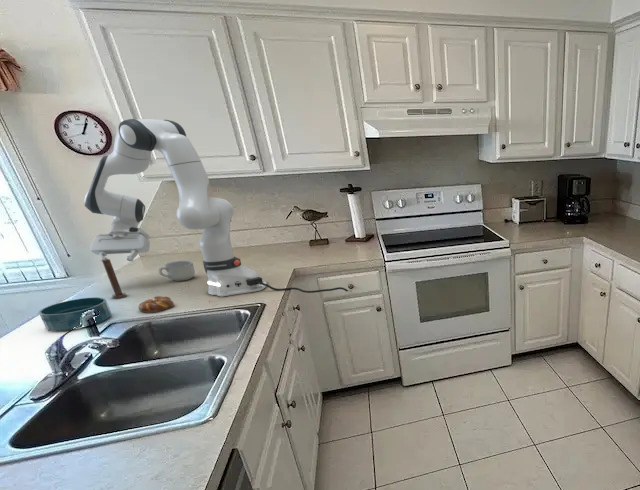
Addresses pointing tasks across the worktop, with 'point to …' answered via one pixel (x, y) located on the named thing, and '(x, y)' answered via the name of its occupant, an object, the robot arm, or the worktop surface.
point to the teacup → (178, 270)
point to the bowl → (73, 313)
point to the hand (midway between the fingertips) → (117, 261)
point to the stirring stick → (113, 280)
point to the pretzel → (156, 304)
